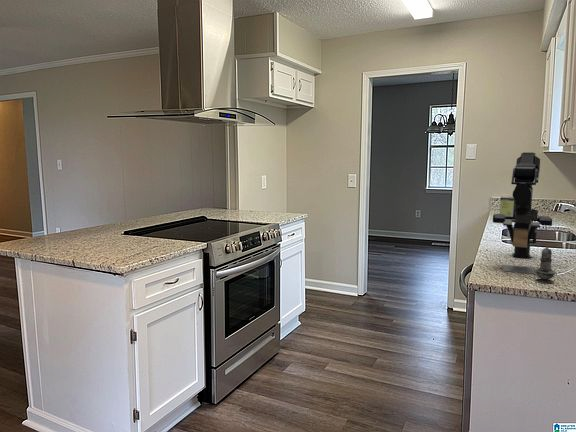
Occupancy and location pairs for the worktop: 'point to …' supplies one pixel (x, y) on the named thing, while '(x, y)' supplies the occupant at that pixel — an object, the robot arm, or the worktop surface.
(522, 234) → the walnut block
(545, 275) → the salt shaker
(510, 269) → the slate coaster
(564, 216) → the worktop surface
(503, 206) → the protein box
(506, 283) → the worktop surface
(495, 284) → the worktop surface
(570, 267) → the worktop surface
